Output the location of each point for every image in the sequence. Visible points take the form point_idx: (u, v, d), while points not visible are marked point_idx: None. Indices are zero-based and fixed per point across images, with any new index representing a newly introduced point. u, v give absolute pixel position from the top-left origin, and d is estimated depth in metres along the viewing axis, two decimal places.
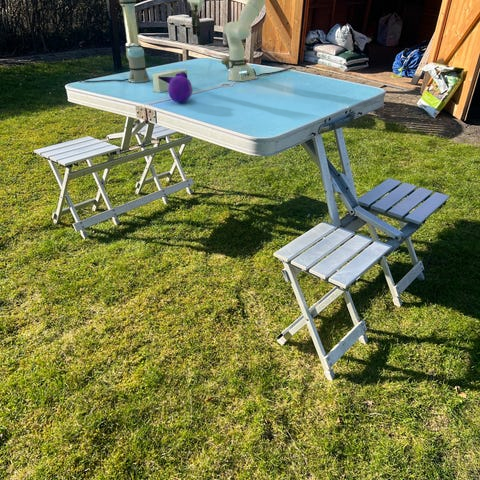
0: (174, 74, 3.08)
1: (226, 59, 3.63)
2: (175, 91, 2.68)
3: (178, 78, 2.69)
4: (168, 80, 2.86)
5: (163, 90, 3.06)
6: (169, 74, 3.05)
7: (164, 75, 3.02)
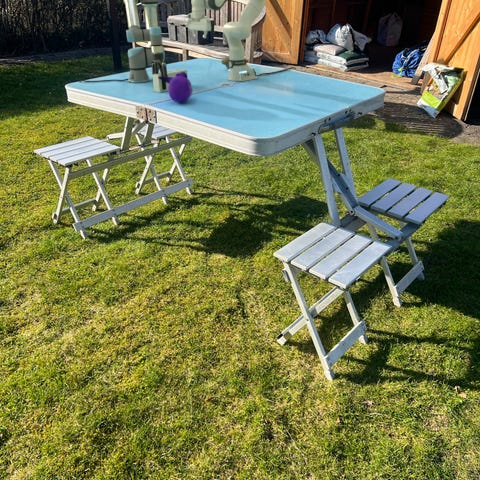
0: (174, 74, 3.08)
1: (226, 59, 3.63)
2: (175, 91, 2.68)
3: (178, 78, 2.69)
4: (168, 80, 2.86)
5: (163, 90, 3.06)
6: (169, 74, 3.05)
7: None
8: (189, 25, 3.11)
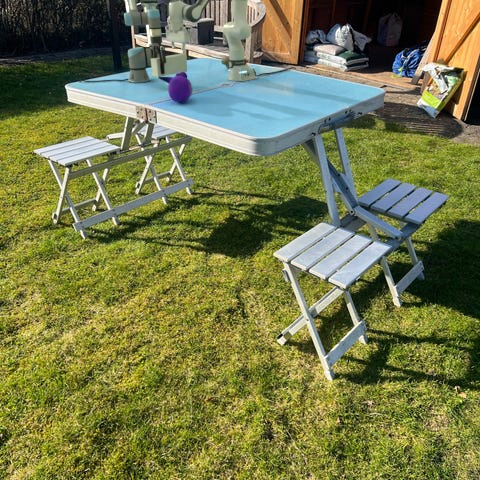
0: (173, 58, 3.03)
1: (226, 59, 3.63)
2: (175, 91, 2.68)
3: (178, 78, 2.69)
4: (168, 80, 2.86)
5: (161, 75, 3.01)
6: (168, 58, 3.00)
7: None
8: (167, 37, 3.07)
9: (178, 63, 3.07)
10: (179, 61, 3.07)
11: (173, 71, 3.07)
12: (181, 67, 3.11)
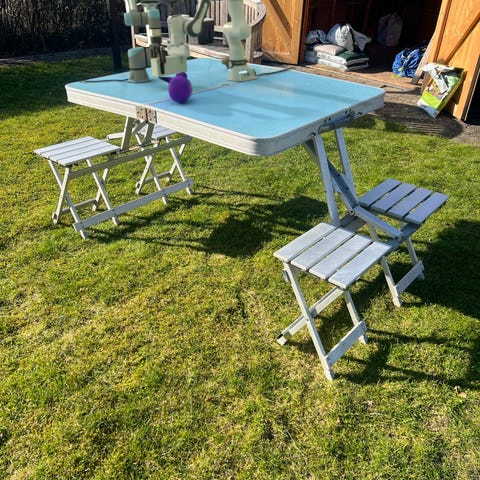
0: (173, 58, 3.03)
1: (226, 59, 3.63)
2: (175, 91, 2.68)
3: (178, 78, 2.69)
4: (168, 80, 2.86)
5: (161, 75, 3.01)
6: (168, 58, 3.00)
7: None
8: (169, 50, 3.12)
9: (178, 63, 3.07)
10: (179, 61, 3.07)
11: (173, 71, 3.07)
12: (182, 67, 3.11)
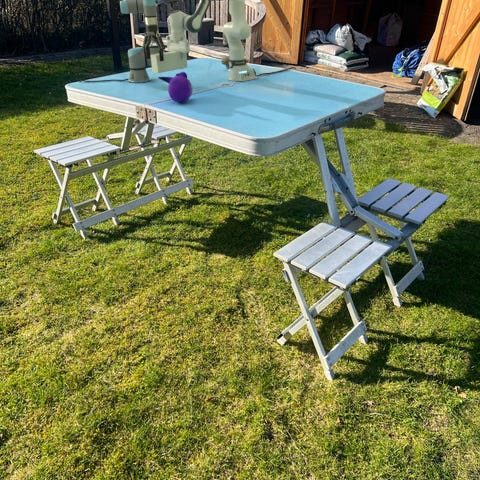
0: (173, 55, 3.02)
1: (226, 59, 3.63)
2: (175, 91, 2.68)
3: (178, 78, 2.69)
4: (168, 80, 2.86)
5: (161, 71, 2.99)
6: (167, 54, 2.99)
7: None
8: (168, 46, 3.10)
9: (178, 59, 3.06)
10: (179, 57, 3.06)
11: (173, 67, 3.06)
12: (181, 63, 3.09)
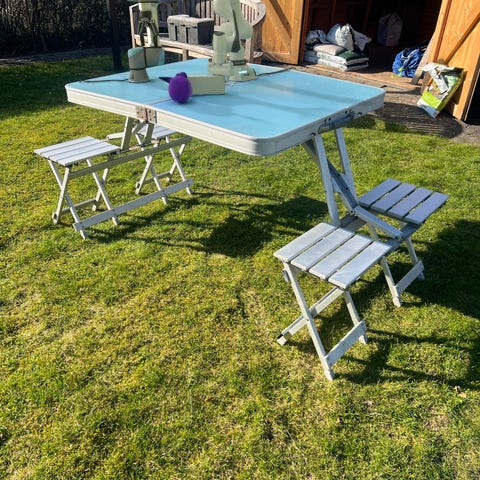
0: (207, 78, 2.89)
1: None
2: (175, 91, 2.68)
3: (178, 78, 2.69)
4: (168, 80, 2.86)
5: None
6: (201, 77, 2.87)
7: (195, 77, 2.86)
8: (209, 69, 2.95)
9: (214, 84, 2.91)
10: (215, 82, 2.91)
11: (207, 91, 2.92)
12: (218, 88, 2.94)
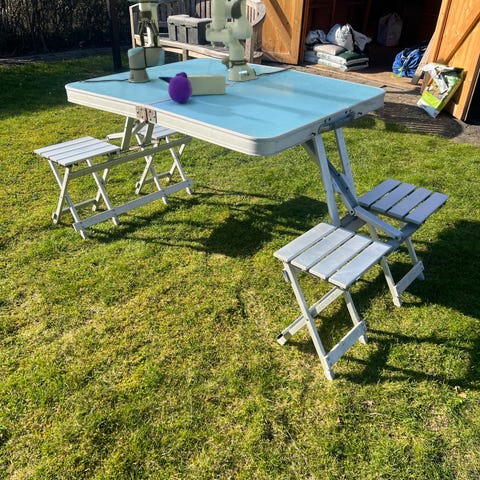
0: (207, 78, 2.89)
1: (226, 59, 3.63)
2: (175, 91, 2.68)
3: (178, 78, 2.69)
4: (168, 80, 2.86)
5: None
6: (201, 77, 2.87)
7: (195, 77, 2.86)
8: (208, 36, 2.85)
9: (214, 84, 2.91)
10: (215, 82, 2.91)
11: (207, 91, 2.92)
12: (218, 88, 2.94)
